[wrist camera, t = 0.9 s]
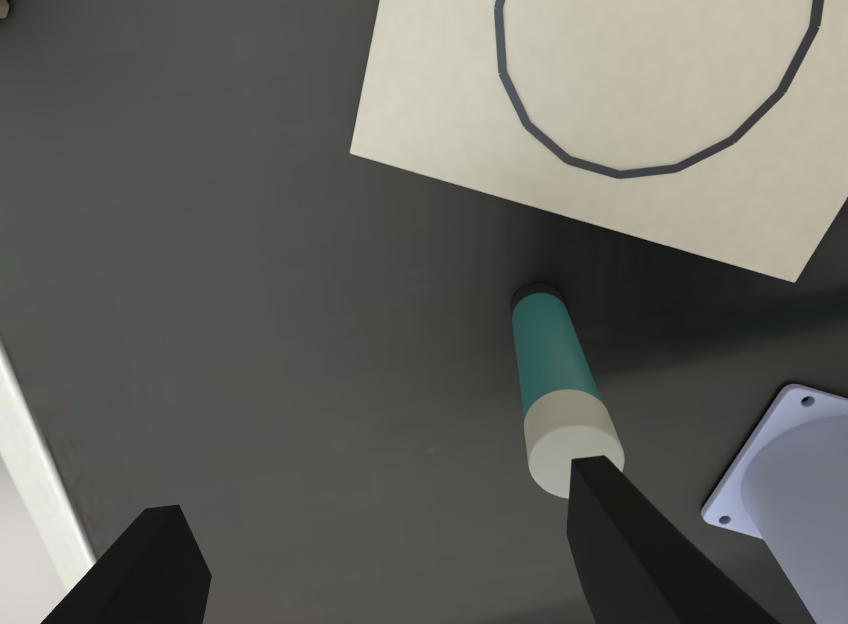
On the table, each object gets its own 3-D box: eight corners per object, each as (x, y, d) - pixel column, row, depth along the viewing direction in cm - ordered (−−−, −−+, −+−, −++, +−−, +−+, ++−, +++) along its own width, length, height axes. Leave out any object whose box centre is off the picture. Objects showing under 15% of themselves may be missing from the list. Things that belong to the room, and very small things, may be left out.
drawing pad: (1064, -168, 14) (1079, -174, 14) (790, 280, 20) (796, 284, 20) (450, -352, 14) (450, -364, 14) (351, 152, 20) (348, 153, 20)
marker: (572, 289, 21) (641, 439, 12) (552, 337, 22) (602, 509, 13) (519, 274, 21) (547, 413, 12) (501, 322, 22) (515, 485, 13)
